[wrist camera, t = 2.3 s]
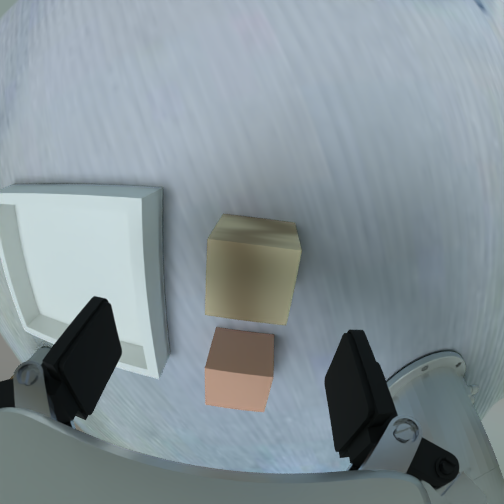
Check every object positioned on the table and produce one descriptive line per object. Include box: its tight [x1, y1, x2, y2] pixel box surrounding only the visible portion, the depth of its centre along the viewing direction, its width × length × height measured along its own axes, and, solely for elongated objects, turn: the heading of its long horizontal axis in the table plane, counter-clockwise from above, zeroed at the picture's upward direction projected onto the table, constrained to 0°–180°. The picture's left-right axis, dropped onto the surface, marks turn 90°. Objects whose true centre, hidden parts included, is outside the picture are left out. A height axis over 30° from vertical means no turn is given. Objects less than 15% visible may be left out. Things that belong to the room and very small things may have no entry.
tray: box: [0, 184, 170, 379], centre depth 20 cm, size 18×16×4 cm
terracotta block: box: [205, 327, 274, 412], centre depth 22 cm, size 5×5×5 cm
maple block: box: [205, 214, 302, 325], centre depth 18 cm, size 5×5×5 cm
